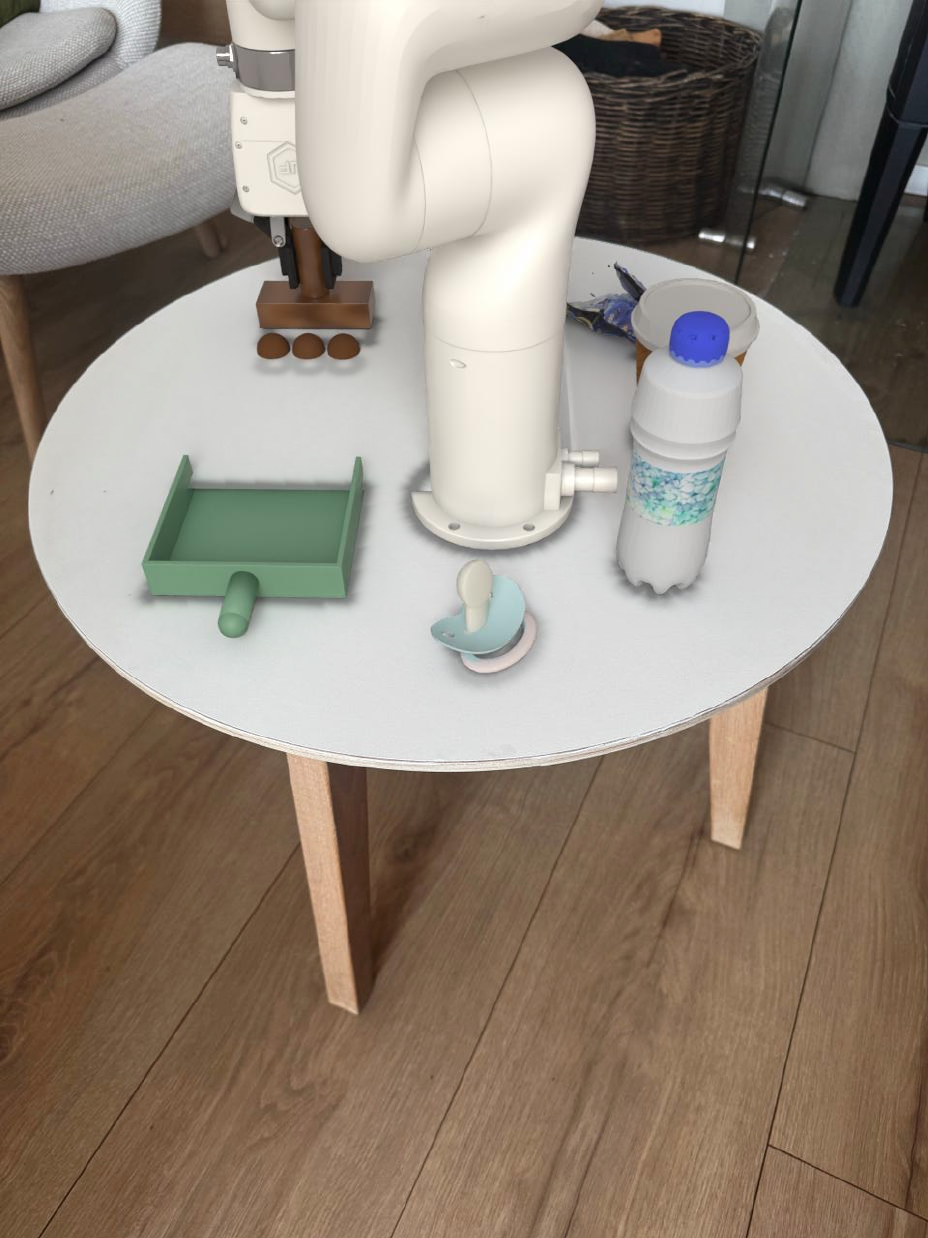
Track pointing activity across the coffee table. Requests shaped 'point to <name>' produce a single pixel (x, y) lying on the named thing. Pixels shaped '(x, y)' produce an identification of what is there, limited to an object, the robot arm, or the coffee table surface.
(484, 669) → the pacifier
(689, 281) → the disposable coffee cup
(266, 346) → the crumb
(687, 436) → the bottle
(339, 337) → the crumb
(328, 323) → the brush
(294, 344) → the crumb
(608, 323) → the snack package
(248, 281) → the coffee table surface
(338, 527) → the dustpan
